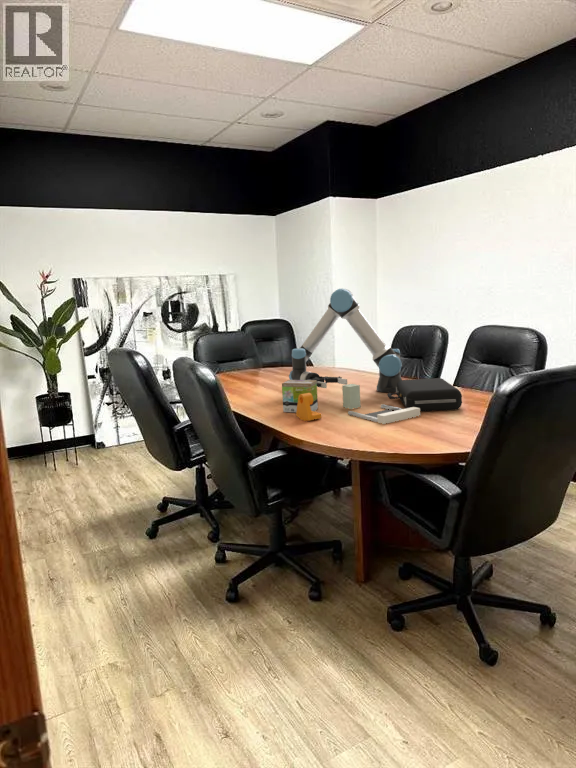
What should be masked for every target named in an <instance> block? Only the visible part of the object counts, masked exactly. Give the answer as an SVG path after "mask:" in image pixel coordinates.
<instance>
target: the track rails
mask: <svg viewBox="0 0 576 768" xmlns="http://www.w3.org/2000/svg"><path fill="white" fill-rule="evenodd" d="M384 408H385V409H384ZM380 409H384V410H388V409H389V410H394V411H397V410H401V409H403V408H401V407H397V406H392V405H387V404H383V403H382V404H380ZM348 414H349V415H348ZM365 414H366V413H365ZM365 414H364V413H360V412H357V411H353V410H347V415H348V416H352V415H353V416H352V417H355V416H356V418H359V417H360V419H363V420H366V419H367V421H370V420H371V422H374V423H377V418H376V417H372V416H368V415H365Z"/></svg>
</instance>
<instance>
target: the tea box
mask: <svg viewBox="0 0 576 768" xmlns="http://www.w3.org/2000/svg"><path fill="white" fill-rule="evenodd" d="M281 393H282V395H281V396H282V397H281V398H282V411H283V413H296V411H297V404H298V397H299V395H300V394H305V393H311V394H312V396H313V404H311V405H310V408H311V411H314V412H316V410H318V408H319V407H318V405H319V403H318V387H317V380H290V379H287V380H286V381H284V382H282V383H281Z"/></svg>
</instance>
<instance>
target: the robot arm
mask: <svg viewBox="0 0 576 768" xmlns="http://www.w3.org/2000/svg"><path fill="white" fill-rule="evenodd" d="M339 318H341V319H342V320H346V321H347V323H348V324H349V325H350V326H351V328H352V329H353V330H354V332H355V333H356V335H357V336H358V337H359V339H360V341H362V343H363V344H364V345H365V347H366V348H367V349H368V351H369V352H370V353H371V354H372V361H373V362H374V364H376V366H377V368H378V372H379V373H378V376H379V377H378V380H377V384H376V391H377V392H380V393H396V385H397V383H398V382H399V381H400V380H403V378H402V376H401V370H402V366H403V363H402V359H401V351H400V349H399V348H392V346H391V345H387V344H385V342H384V341H383V339H382V338H381V337H380V335H379V334H378V332H377V331H376V330H375V329H374V327H373V326H372V324H371V323H370V322H369V321H368V319H367V318H366V317H365V315H364V314H363V312H362V311H361V310H360V304H359V302H358V301H357V300H356V298H355V297H354V295H353V292H351V291H350V290H349V289H346V288H337V289H336V290H334V291H333V292H332V294H331V295H330V297H329V304H328V305H327V309H326V311H325V313H324V314H323V315H322V316H321V318H320V319H319V321H318V322H317V324H316V325H315V327H314V328H313V329H312V331H311V332H310V334H308V336H307V338H306V339H305V340H304V342H303V343H302V344H301V346H300V347H298V348H293V349H291V362H292V365H291V366H292V370H291V371H290V372H289V375H288V378H289V379H288V380H317V388H321V389H327V388H328V384H329V383H330V384H331V383H332V384H333V383H335V384H339V385H340V384H341V385H348V378H343V377H342V376H328V375H327V376H320V375H319V373H317V372H312V371H307V362H308V361H309V359H310V357H311V356H312V355H313V353H314V352H315V350H316V349H317V347H318V346H319V345H320V343H321V342H322V341H323V340H324V338H325V337H326V335H327V334H328V332H330V330H331V329H332V327H333V326H334V325H335V324H336V322H337V320H338V319H339Z"/></svg>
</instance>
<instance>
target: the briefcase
mask: <svg viewBox="0 0 576 768" xmlns="http://www.w3.org/2000/svg"><path fill="white" fill-rule="evenodd" d="M395 395H396V396H395ZM386 396H387V397H388V399H389V400H397V399H399V400H400V402H401V403H402V404H403V406H405V409H406V408H411V407H417V408H420V411H421V412H433V411H432V410H442V411H456V410H455V409H457V410H459V409H460V408H461V407H462V403H463V395H462V392H461V390H459V389H458V388H457V387H455V386H454V385H453V384H452V383H449V382H448V381H446V380H445V379H444V378H441V377H436V378H435V377H434V378H414V379H413V378H412V379H402V380H400V381H399V382H398V383H397V385H396V392H387V394H386Z"/></svg>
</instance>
